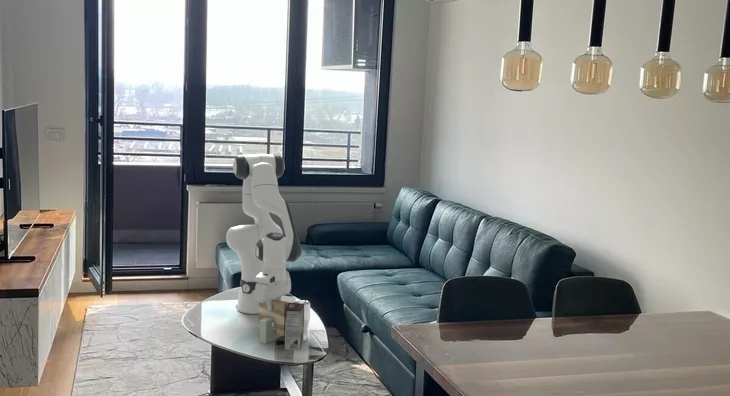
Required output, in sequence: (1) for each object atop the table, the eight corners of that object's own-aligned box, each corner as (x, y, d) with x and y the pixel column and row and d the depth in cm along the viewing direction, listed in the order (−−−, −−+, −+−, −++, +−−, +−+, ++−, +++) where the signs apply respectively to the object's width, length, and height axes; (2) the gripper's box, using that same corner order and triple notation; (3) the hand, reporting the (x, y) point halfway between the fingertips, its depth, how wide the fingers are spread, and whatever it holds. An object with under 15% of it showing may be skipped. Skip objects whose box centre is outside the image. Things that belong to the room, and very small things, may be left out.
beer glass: (306, 343, 272) (307, 306, 270) (289, 341, 273) (290, 304, 271) (311, 337, 278) (312, 301, 276) (295, 335, 280) (295, 299, 278)
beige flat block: (262, 328, 279) (263, 297, 278) (287, 333, 274) (288, 301, 272) (258, 330, 277) (259, 298, 275) (283, 335, 271) (284, 303, 270)
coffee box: (287, 341, 272) (288, 302, 270) (303, 342, 272) (304, 302, 270) (284, 349, 263) (285, 308, 261) (300, 350, 263) (302, 309, 261)
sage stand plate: (279, 332, 283) (279, 311, 281) (285, 334, 281) (286, 312, 280) (259, 342, 270) (259, 320, 269) (265, 343, 269) (266, 321, 268)
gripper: (282, 268, 283) (281, 301, 285) (252, 278, 265) (251, 313, 266) (295, 270, 280) (294, 303, 282) (266, 280, 262) (265, 316, 264)
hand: (273, 308), depth 274 cm, fingers closed on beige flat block, 3 cm apart
